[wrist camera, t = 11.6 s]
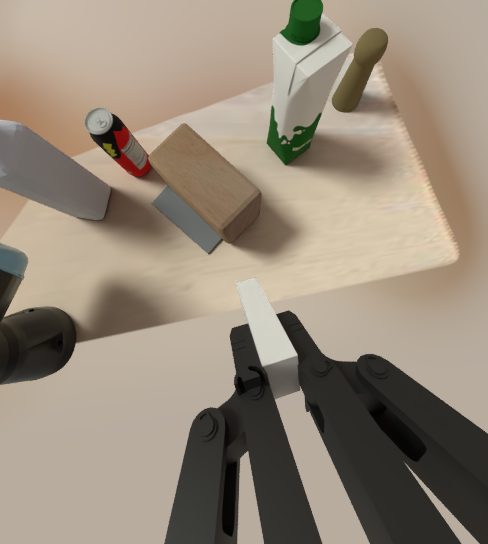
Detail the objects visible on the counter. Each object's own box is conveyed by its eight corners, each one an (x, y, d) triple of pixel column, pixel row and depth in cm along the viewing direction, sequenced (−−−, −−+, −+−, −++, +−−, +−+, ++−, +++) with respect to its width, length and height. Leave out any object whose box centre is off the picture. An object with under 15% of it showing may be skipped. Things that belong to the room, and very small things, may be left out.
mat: (152, 204, 43) (151, 203, 42) (203, 148, 43) (203, 147, 43) (208, 253, 41) (207, 253, 40) (261, 194, 41) (261, 193, 41)
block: (263, 190, 31) (183, 118, 33) (221, 232, 30) (143, 156, 32) (261, 214, 40) (199, 158, 43) (229, 246, 40) (169, 187, 42)
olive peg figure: (357, 112, 42) (394, 51, 31) (331, 111, 42) (358, 50, 32) (359, 89, 43) (395, 20, 32) (332, 88, 43) (359, 20, 32)
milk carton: (290, 121, 43) (322, -25, 23) (315, 148, 42) (371, 21, 22) (261, 143, 43) (267, 15, 23) (284, 171, 42) (313, 63, 22)
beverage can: (139, 149, 44) (97, 97, 32) (158, 163, 44) (122, 116, 32) (122, 168, 44) (73, 124, 32) (141, 183, 43) (98, 143, 31)
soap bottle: (70, 216, 44) (-177, 118, 19) (79, 181, 44) (-146, 42, 19) (105, 222, 43) (-102, 128, 18) (114, 186, 44) (-73, 48, 19)
